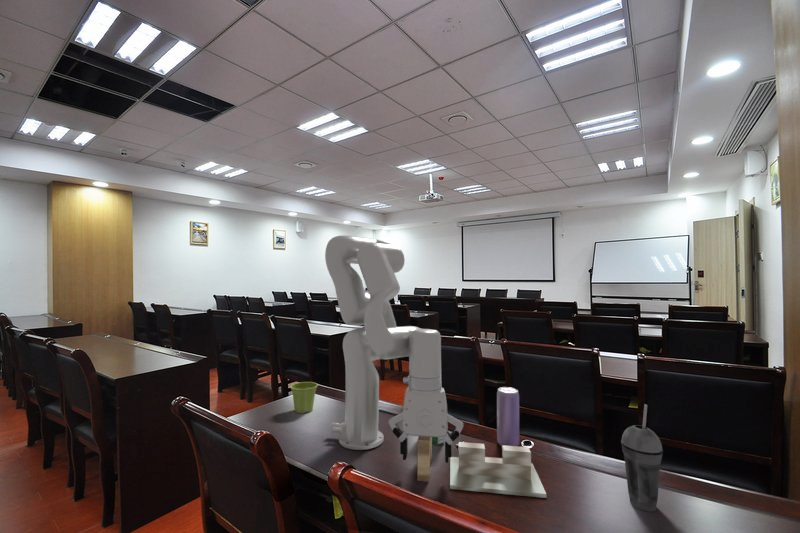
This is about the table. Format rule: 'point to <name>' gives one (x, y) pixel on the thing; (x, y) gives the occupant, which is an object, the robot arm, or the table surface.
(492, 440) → the table surface
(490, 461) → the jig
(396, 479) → the table surface
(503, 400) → the beverage can
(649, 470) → the beverage cup
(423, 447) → the wooden block
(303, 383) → the plant pot
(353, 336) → the robot arm
